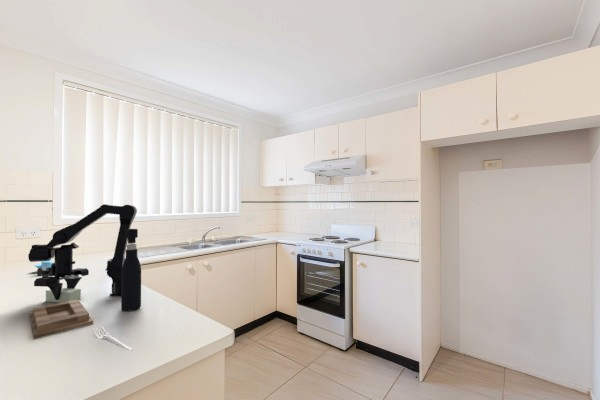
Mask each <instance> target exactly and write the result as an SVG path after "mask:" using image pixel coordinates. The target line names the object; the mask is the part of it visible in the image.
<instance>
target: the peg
mask: <svg viewBox="0 0 600 400" xmlns="http://www.w3.org/2000/svg"><path fill="white" fill-rule="evenodd" d="M81 290H82V289H81V288H74V289H73V288H67V287H62V289H61V294H60V298H59V300H56V299H55V297H54V295H53V293H52V291H51V290H50V289H47V290H45V302H50V301H51V303H53V302H54V303H62V302H67V301H72V300H77V299H78V300H79V301H80V300H81Z"/></svg>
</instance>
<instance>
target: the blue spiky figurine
mask: <svg viewBox="0 0 600 400" xmlns="http://www.w3.org/2000/svg"><path fill="white" fill-rule="evenodd" d="M40 262H41V263H36V264H33V266H34V267H36V268H37V269H39V268H42V267H45V268H50V267H51V264H52V263H54V262H55V261H52V259H51V260H50V261H40Z"/></svg>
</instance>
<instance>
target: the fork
mask: <svg viewBox="0 0 600 400" xmlns="http://www.w3.org/2000/svg"><path fill="white" fill-rule="evenodd" d="M101 328H102V329H101ZM102 330H103V331H102ZM93 333H94V336H95V338H97V339H99V340H104V339H106V340H108V341H110V342H112V343H113V344H115V345H117V344H118V345H117V346H119V347H122V348H123V347H124V349H126V350H127V349H128V350H127V351H129V352H131V351H132V352H133V348H131V347H130V346H128V345H126V344H124V342H121V341H120V340H118V339H117V338H115V337H113V336H112V334H110V333H109V332H108V331H107V330H106V329H105V327H103V326H102V325H101V327H100V326H99V327H98V328H97V327H96V328H93ZM106 334H107V335H106ZM109 334H110V335H109ZM103 336H105V337H103Z"/></svg>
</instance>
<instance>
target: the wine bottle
mask: <svg viewBox="0 0 600 400" xmlns="http://www.w3.org/2000/svg"><path fill="white" fill-rule="evenodd" d="M138 230H139V229H138V228H130V229H126V238H128V241H127V246H126V251H125V260H124V263H123V267H122V273H121V297H120V298H121V300H120V304H121V305H120V307H121V308H120V309H121V312H123V313H124V312H132V311H133V312H134V311H137V310H139V309H141V308H142V267H141V263H140V259H139V257H138V249H137V246H138V245H137V243H136V241H137V240H136V238H138ZM140 307H141V308H140Z"/></svg>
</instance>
